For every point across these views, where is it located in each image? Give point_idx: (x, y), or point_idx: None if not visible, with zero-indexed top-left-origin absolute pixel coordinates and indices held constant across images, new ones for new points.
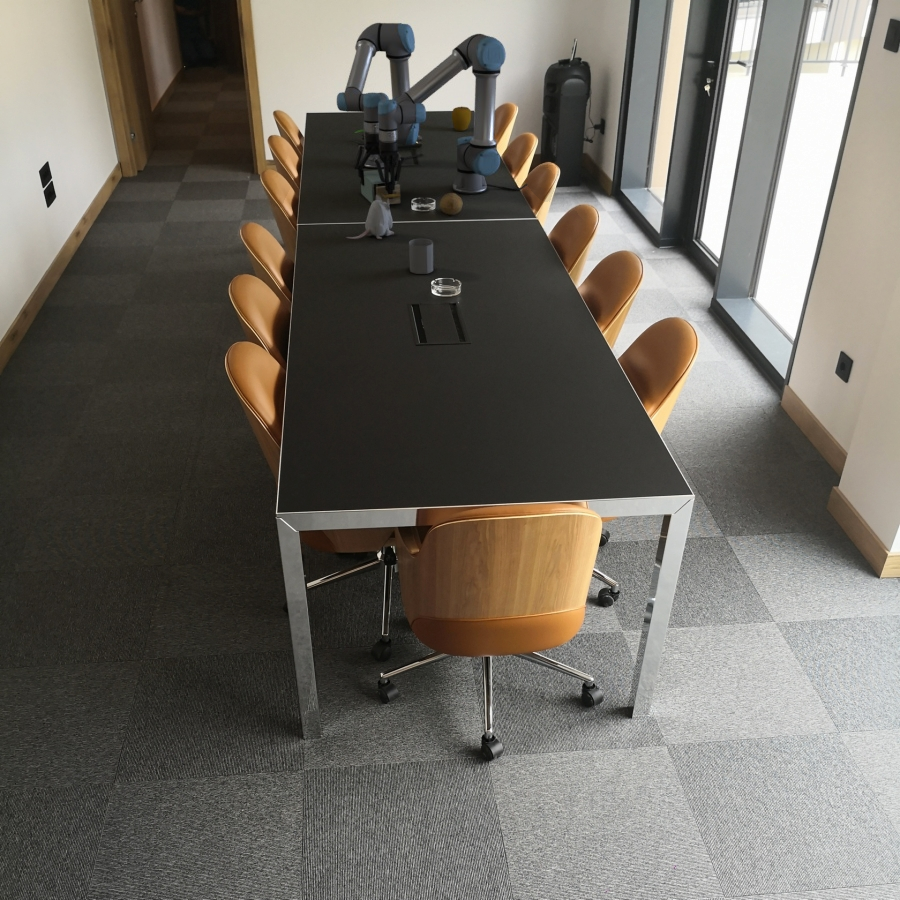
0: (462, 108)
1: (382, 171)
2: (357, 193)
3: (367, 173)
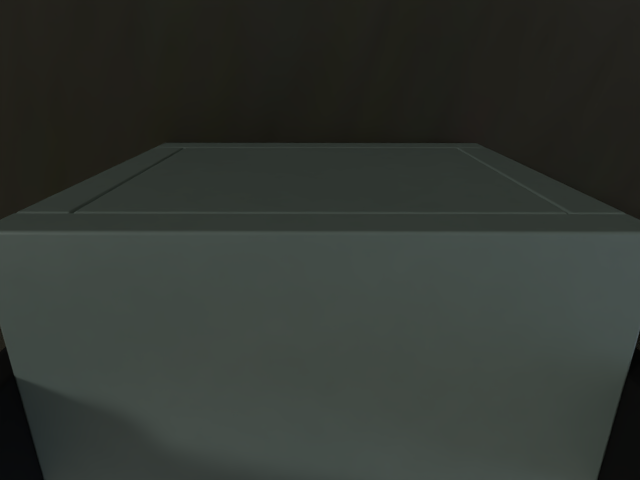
0: None
1: (504, 399)
2: (118, 108)
3: (135, 427)
